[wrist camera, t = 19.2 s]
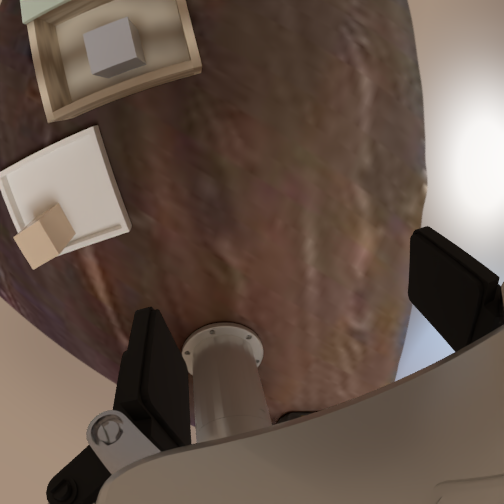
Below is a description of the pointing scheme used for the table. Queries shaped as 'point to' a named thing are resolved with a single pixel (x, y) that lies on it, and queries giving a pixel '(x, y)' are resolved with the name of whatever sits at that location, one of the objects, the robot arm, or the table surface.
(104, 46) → the granite block
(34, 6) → the sage lid
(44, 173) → the white tray
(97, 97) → the birch box
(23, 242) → the sandstone block
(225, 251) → the table surface
